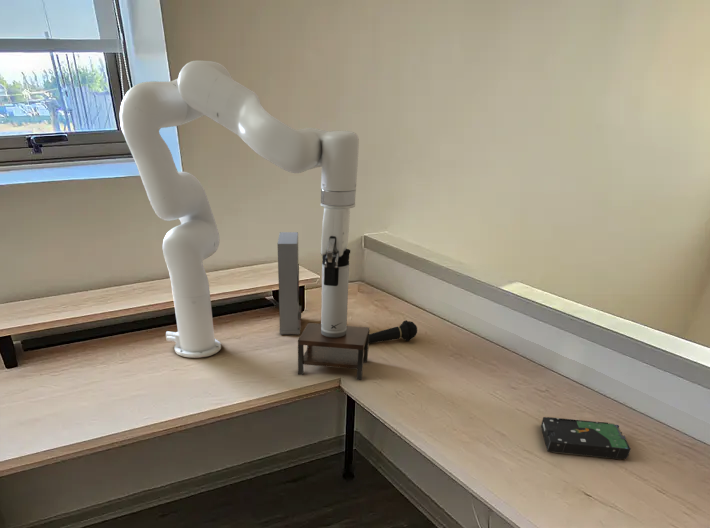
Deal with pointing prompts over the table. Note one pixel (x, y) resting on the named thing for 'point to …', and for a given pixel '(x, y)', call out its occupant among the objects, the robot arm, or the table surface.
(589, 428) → the disk drive
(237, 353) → the table surface
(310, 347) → the plate
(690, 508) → the table surface
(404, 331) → the microphone
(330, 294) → the travel mug
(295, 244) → the tall grey pillar
